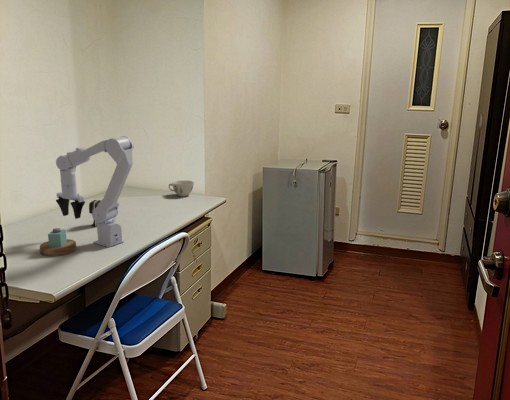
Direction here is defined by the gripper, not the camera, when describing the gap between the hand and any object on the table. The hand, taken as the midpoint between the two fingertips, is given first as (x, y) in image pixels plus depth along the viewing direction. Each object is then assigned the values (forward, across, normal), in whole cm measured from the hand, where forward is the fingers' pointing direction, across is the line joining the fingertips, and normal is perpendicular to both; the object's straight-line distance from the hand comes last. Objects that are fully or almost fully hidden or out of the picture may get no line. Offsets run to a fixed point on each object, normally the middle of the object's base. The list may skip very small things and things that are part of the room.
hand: (71, 216), depth 196 cm
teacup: (+10, +15, -86) cm, 88 cm away
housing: (+7, -7, +12) cm, 16 cm away
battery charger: (+10, +8, -19) cm, 23 cm away
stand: (+10, -7, +12) cm, 17 cm away
